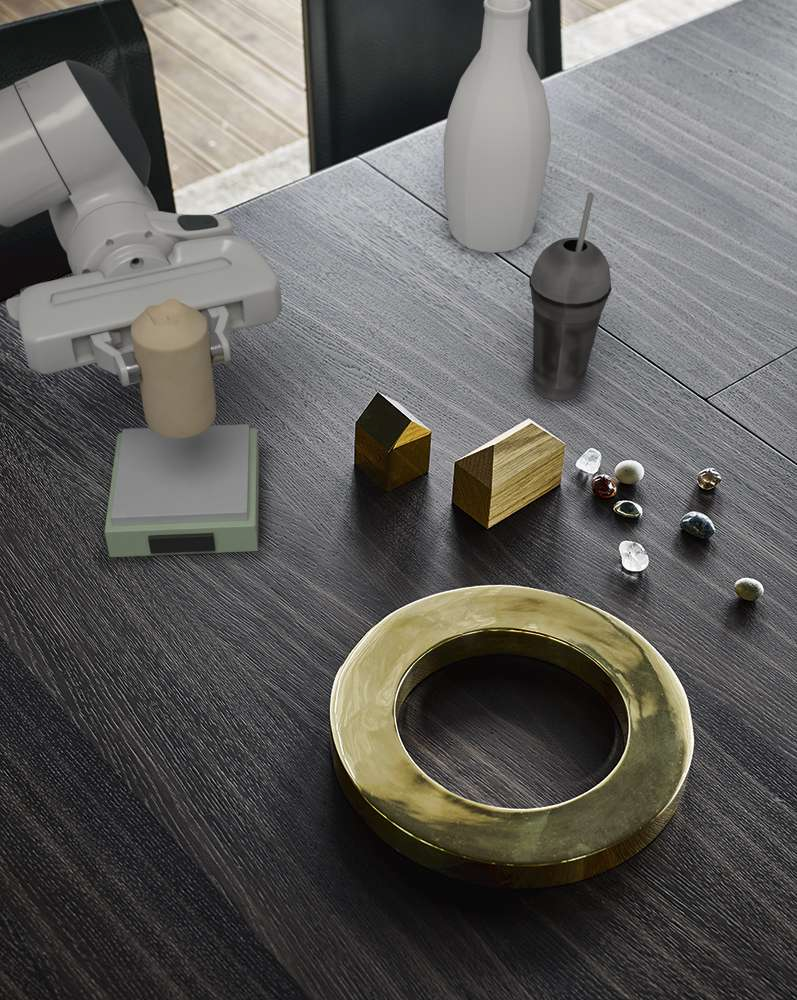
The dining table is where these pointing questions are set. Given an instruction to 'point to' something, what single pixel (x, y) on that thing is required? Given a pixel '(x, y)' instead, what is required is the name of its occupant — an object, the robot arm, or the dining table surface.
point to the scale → (184, 493)
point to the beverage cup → (567, 311)
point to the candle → (174, 369)
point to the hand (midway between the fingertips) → (177, 366)
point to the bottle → (497, 137)
